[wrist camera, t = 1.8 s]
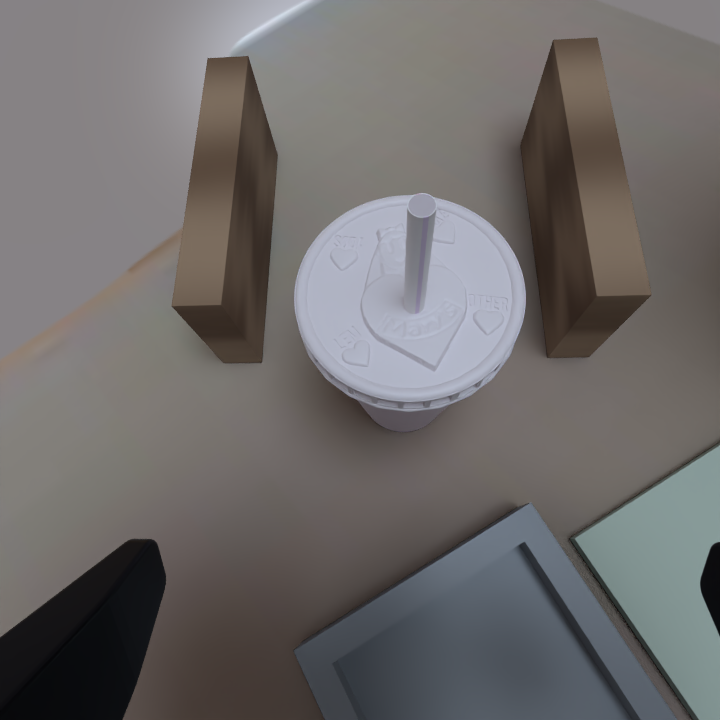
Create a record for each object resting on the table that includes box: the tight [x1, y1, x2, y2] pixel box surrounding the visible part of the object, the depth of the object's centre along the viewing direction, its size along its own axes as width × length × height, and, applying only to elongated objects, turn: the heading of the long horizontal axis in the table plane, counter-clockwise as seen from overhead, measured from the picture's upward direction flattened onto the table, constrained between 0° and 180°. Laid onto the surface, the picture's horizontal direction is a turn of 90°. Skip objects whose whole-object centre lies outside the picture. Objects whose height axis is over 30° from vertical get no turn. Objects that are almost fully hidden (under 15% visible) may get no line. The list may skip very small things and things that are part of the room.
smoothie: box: [294, 193, 526, 432], centre depth 16 cm, size 6×6×14 cm
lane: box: [172, 38, 652, 363], centre depth 23 cm, size 12×17×6 cm
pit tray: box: [294, 503, 677, 720], centre depth 18 cm, size 10×10×2 cm
